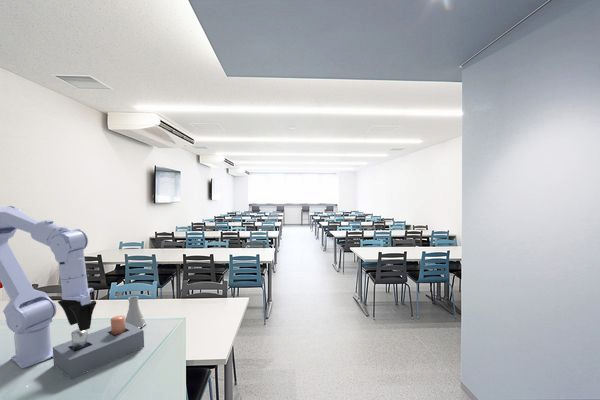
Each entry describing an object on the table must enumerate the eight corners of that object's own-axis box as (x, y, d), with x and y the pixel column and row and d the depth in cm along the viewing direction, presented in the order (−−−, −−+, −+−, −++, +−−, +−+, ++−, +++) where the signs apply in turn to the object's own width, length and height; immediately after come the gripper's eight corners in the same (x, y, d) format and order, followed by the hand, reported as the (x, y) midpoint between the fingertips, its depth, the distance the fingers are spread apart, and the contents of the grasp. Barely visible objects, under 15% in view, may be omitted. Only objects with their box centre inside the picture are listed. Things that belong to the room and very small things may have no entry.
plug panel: (53, 365, 88) (52, 347, 88) (125, 336, 104) (124, 321, 103) (71, 379, 82) (69, 359, 82) (144, 346, 97) (143, 330, 97)
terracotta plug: (109, 333, 96) (108, 318, 96) (121, 329, 99) (120, 314, 99) (115, 337, 94) (114, 321, 94) (127, 332, 97) (127, 317, 97)
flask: (119, 332, 106) (118, 302, 106) (125, 323, 113) (124, 294, 113) (143, 330, 108) (142, 300, 107) (148, 320, 115) (147, 292, 114)
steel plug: (70, 348, 88) (69, 332, 88) (84, 343, 91) (84, 327, 91) (75, 352, 86) (74, 335, 86) (90, 346, 89) (89, 330, 89)
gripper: (101, 275, 85) (107, 326, 86) (80, 269, 95) (86, 315, 95) (69, 283, 80) (76, 337, 81) (51, 276, 89) (57, 325, 90)
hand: (79, 326), depth 88 cm, fingers open, 7 cm apart
